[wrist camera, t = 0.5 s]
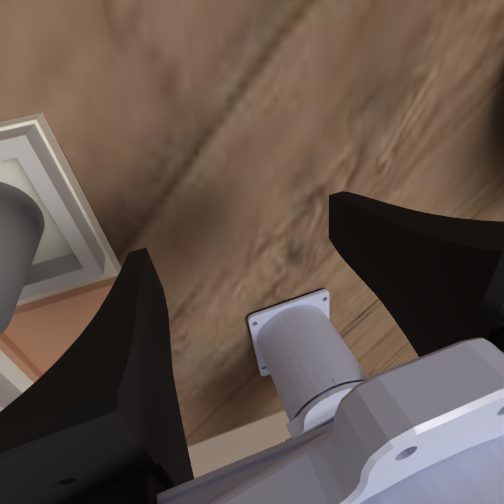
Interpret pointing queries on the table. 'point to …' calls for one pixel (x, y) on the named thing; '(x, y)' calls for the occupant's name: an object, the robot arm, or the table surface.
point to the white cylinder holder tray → (44, 255)
